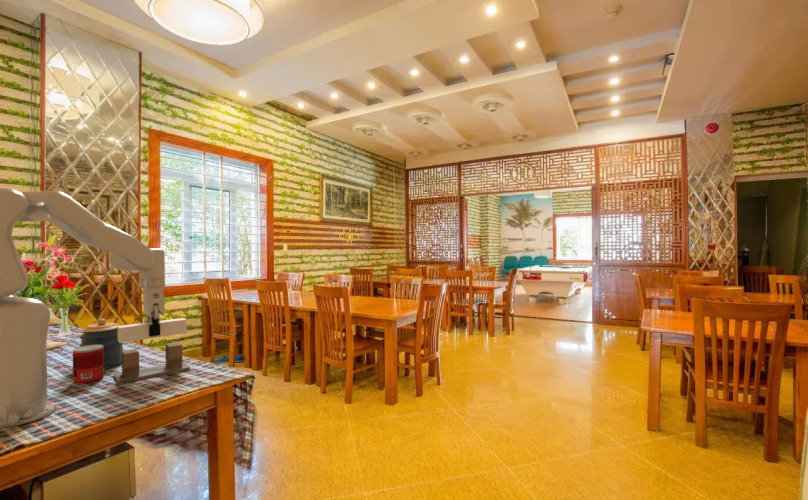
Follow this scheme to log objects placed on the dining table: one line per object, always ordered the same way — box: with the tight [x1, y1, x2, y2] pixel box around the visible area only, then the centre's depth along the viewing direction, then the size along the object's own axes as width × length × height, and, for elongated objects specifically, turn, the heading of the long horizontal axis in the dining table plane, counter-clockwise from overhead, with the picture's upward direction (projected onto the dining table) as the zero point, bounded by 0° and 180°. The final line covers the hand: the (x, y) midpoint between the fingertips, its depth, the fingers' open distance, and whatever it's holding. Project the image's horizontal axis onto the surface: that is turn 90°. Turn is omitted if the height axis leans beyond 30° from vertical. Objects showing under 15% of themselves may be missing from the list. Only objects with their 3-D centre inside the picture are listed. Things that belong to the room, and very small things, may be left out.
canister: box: [78, 318, 124, 369], centre depth 141 cm, size 13×13×18 cm
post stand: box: [113, 341, 191, 386], centre depth 132 cm, size 10×21×9 cm, turn 134°
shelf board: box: [118, 317, 188, 344], centre depth 132 cm, size 4×20×5 cm, turn 134°
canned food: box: [72, 345, 105, 385], centre depth 126 cm, size 8×8×11 cm
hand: (153, 334), depth 132 cm, fingers closed on shelf board, 4 cm apart
